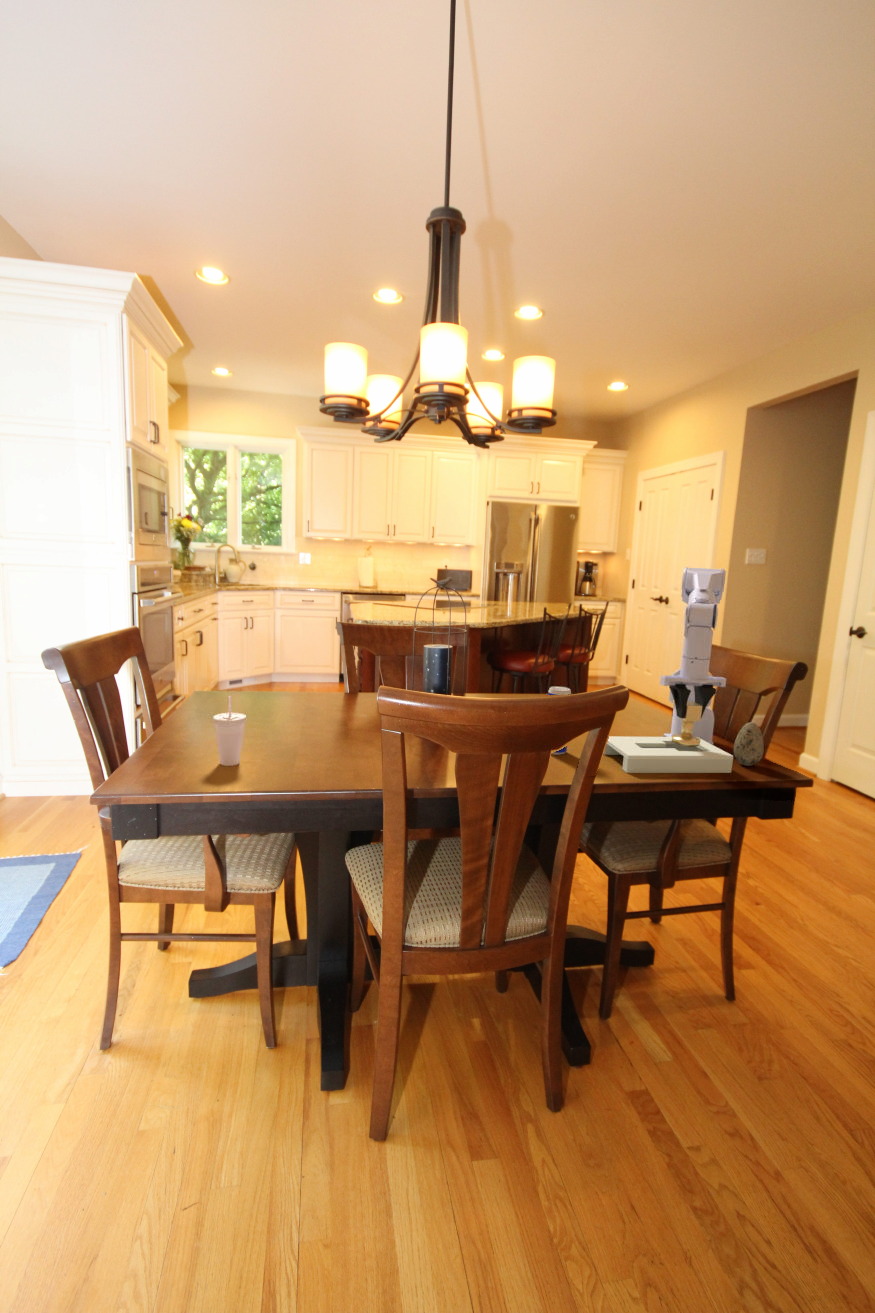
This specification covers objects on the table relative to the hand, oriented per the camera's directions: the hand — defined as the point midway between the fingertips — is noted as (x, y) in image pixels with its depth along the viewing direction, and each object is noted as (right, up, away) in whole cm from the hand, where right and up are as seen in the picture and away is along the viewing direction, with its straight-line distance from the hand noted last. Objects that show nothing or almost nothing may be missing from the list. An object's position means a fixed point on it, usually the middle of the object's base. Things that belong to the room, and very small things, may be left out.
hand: (689, 717), depth 136 cm
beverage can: (-29, -9, +5) cm, 31 cm away
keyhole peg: (0, -6, +1) cm, 6 cm away
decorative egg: (+14, -11, +2) cm, 18 cm away
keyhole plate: (-5, -10, +1) cm, 12 cm away
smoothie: (-98, -8, -13) cm, 100 cm away
